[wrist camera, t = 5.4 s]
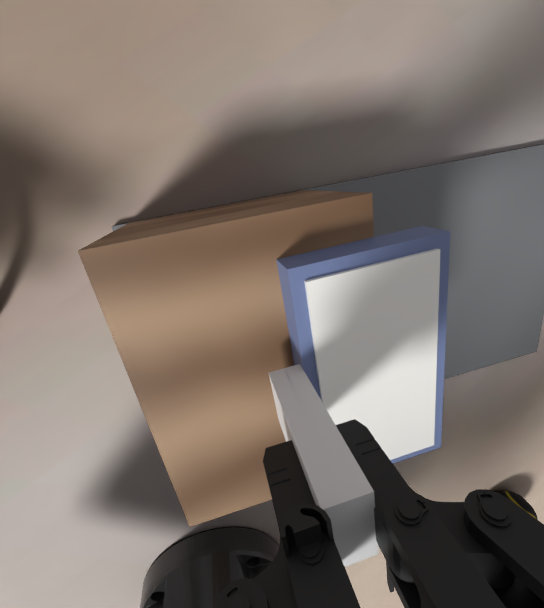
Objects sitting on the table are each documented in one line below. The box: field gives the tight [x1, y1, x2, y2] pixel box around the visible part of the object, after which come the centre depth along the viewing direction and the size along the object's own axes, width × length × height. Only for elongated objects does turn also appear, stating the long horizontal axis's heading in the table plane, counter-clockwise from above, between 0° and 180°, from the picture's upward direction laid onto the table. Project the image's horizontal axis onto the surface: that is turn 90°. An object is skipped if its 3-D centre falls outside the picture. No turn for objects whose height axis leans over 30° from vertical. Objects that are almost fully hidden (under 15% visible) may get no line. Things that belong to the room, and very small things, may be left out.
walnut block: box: [78, 190, 374, 527], centre depth 20 cm, size 16×12×10 cm
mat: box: [112, 144, 544, 379], centre depth 27 cm, size 20×36×1 cm, turn 100°
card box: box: [276, 226, 450, 464], centre depth 15 cm, size 12×7×2 cm, turn 10°
